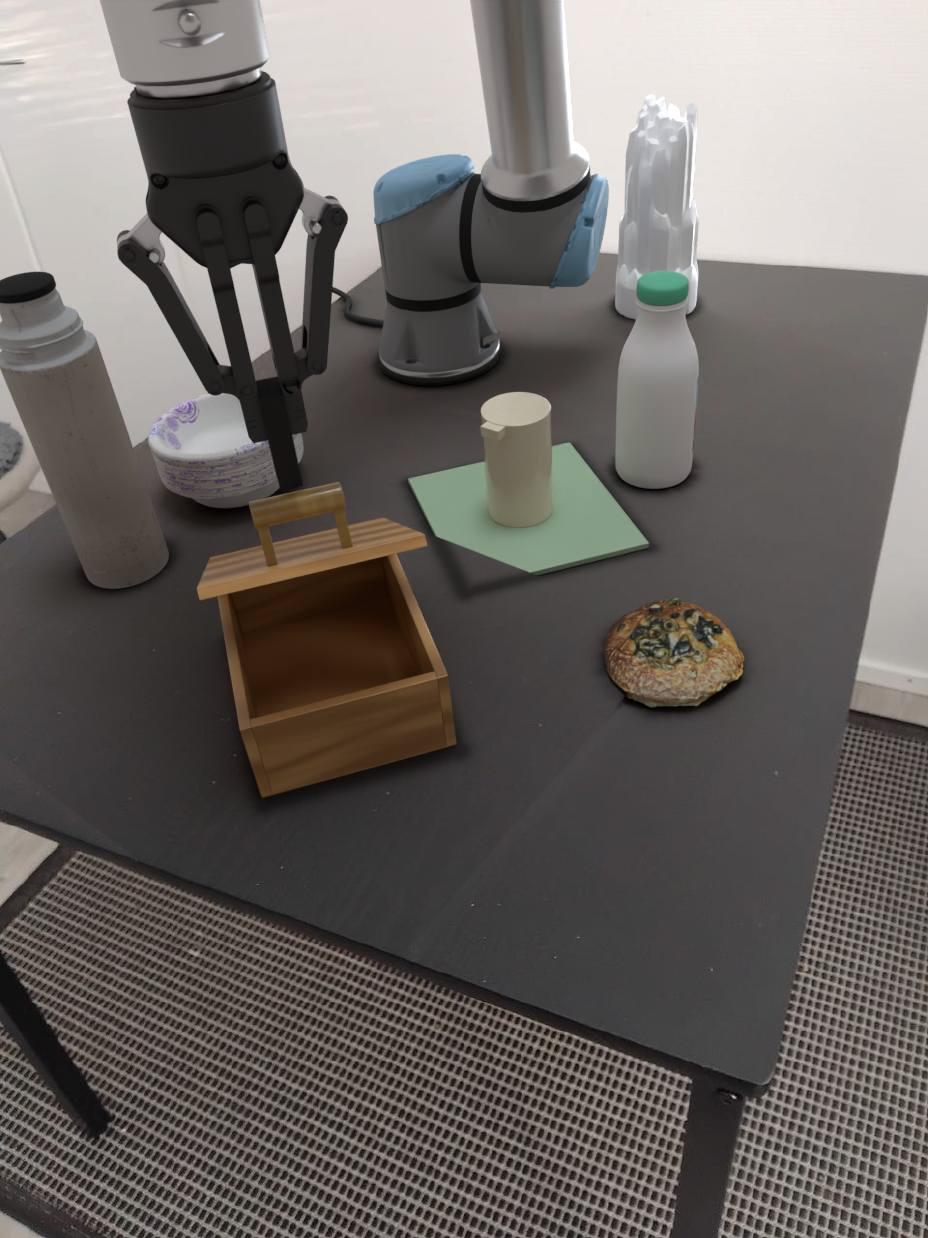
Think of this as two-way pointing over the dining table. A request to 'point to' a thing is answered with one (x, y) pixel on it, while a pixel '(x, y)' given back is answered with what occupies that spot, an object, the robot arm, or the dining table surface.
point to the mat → (564, 540)
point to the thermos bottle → (78, 433)
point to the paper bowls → (213, 453)
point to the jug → (518, 458)
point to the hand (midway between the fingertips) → (288, 477)
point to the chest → (334, 674)
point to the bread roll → (671, 654)
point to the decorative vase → (658, 202)
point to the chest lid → (304, 543)
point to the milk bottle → (657, 387)
